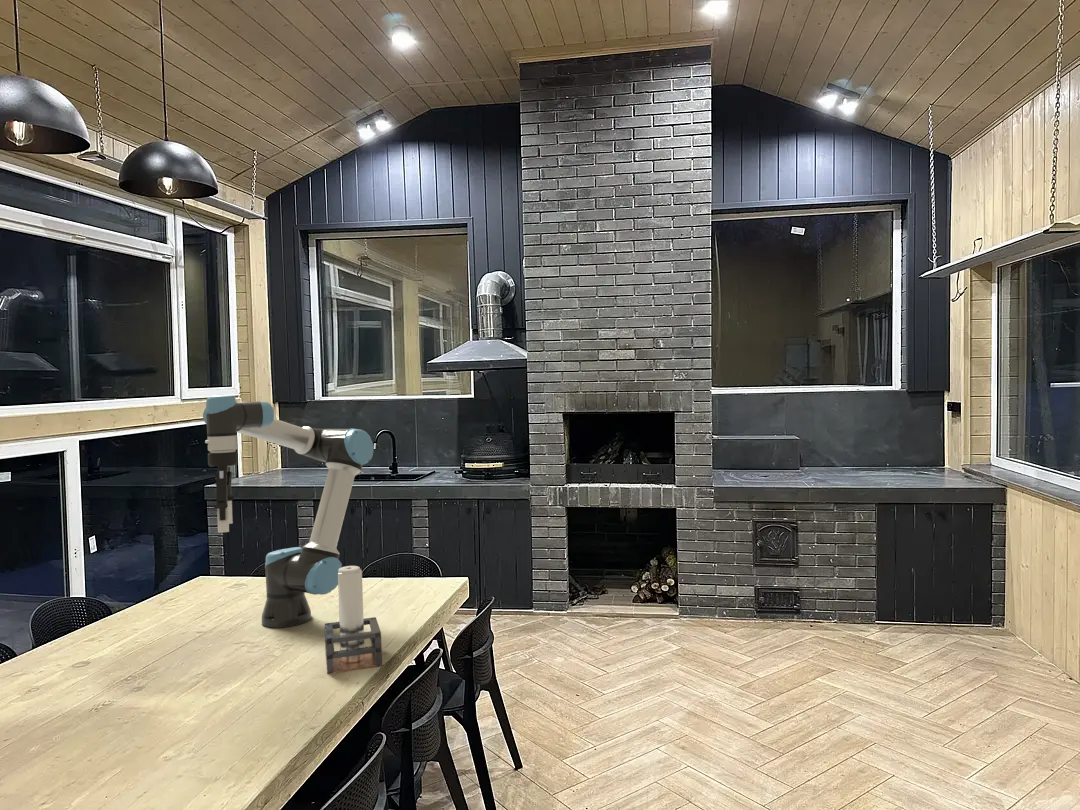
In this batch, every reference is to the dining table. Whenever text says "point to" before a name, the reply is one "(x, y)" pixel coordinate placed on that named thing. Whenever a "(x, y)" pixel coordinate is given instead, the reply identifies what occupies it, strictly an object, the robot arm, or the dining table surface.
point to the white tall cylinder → (351, 609)
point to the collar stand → (371, 653)
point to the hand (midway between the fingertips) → (225, 527)
